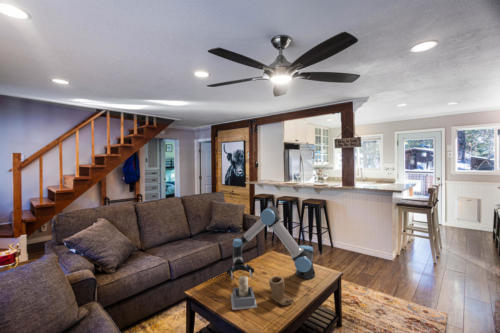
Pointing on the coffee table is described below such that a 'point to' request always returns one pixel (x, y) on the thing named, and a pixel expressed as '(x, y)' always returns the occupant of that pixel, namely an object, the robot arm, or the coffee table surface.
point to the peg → (243, 286)
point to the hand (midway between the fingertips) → (241, 276)
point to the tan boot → (279, 291)
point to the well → (243, 300)
